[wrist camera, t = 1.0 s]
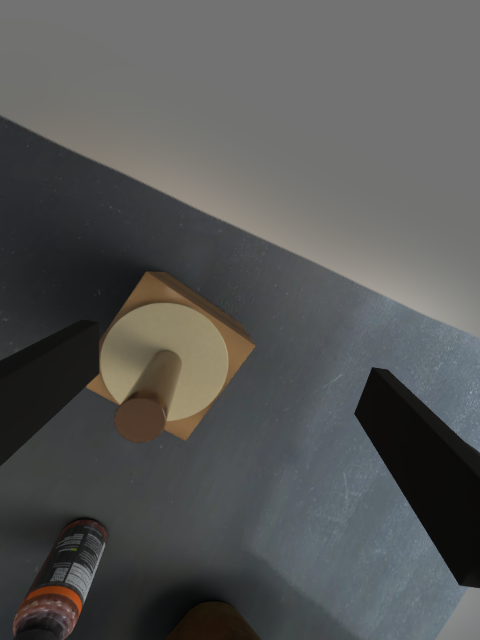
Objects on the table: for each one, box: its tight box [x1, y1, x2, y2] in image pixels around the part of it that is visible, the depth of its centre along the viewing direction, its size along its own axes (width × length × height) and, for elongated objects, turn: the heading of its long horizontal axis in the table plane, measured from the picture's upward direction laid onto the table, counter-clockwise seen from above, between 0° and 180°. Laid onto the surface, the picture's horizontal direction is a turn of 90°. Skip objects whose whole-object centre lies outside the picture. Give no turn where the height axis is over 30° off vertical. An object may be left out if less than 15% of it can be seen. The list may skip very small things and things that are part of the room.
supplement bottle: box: [13, 519, 107, 640], centre depth 28 cm, size 6×6×11 cm
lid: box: [100, 302, 228, 442], centre depth 17 cm, size 10×10×8 cm
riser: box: [86, 271, 255, 441], centre depth 25 cm, size 11×11×9 cm
